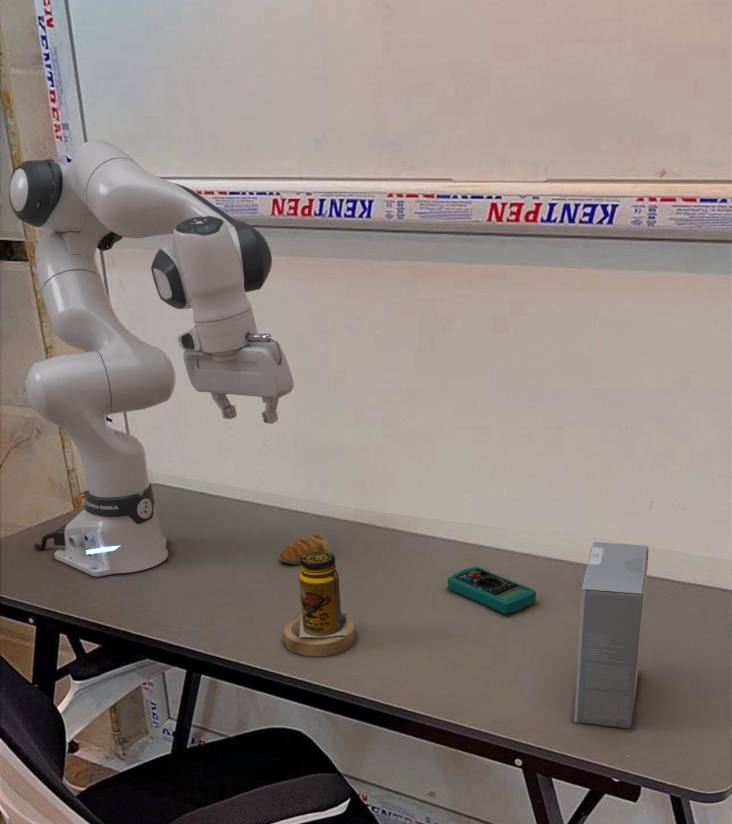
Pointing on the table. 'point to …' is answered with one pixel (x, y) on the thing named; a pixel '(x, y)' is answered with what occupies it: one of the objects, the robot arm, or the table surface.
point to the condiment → (320, 597)
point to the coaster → (316, 640)
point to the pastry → (304, 548)
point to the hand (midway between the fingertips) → (250, 419)
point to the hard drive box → (610, 634)
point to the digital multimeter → (491, 590)
